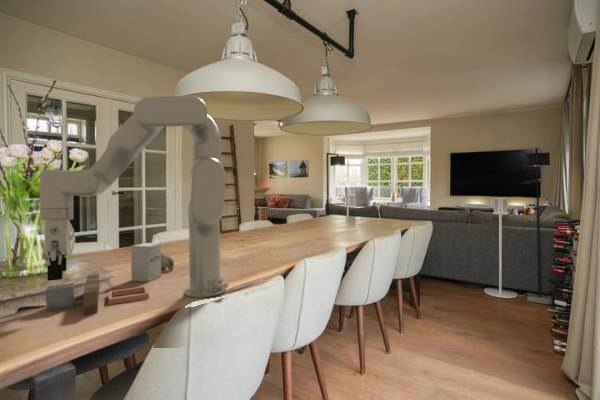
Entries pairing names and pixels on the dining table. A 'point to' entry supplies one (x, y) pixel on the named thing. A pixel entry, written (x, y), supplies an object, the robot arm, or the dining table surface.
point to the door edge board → (91, 294)
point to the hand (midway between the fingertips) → (57, 275)
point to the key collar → (128, 298)
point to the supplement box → (146, 261)
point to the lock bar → (60, 297)
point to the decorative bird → (166, 262)
